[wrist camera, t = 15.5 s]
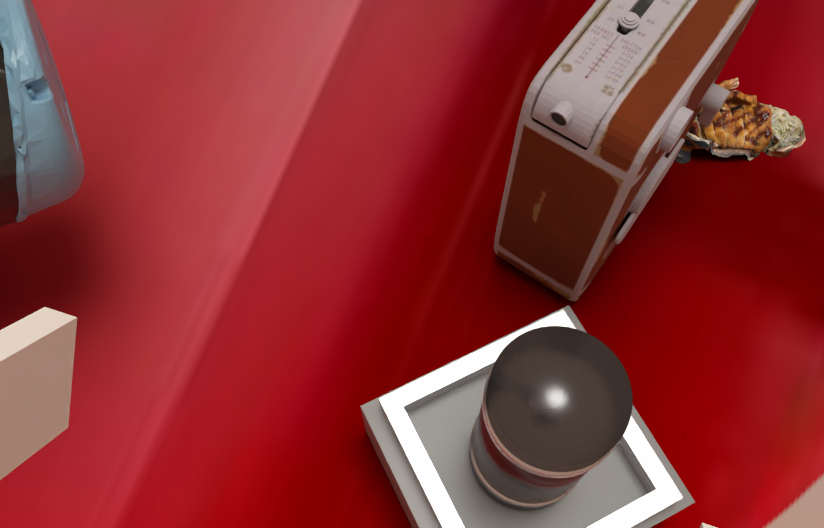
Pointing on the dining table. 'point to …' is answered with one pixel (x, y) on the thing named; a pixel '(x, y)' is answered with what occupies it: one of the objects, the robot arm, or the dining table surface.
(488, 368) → the square picture frame
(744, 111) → the pastry
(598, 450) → the lens
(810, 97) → the dining table surface
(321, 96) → the dining table surface
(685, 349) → the dining table surface
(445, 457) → the square shallow tray
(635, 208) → the cine camera
